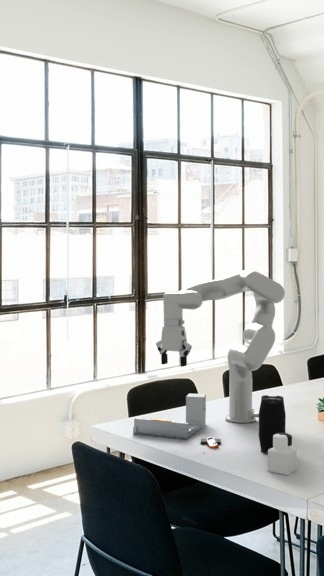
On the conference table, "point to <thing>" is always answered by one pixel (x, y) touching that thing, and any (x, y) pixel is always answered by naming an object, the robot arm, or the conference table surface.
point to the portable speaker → (270, 420)
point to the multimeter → (211, 442)
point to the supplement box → (196, 409)
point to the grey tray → (164, 428)
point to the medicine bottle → (282, 455)
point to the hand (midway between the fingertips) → (174, 365)
